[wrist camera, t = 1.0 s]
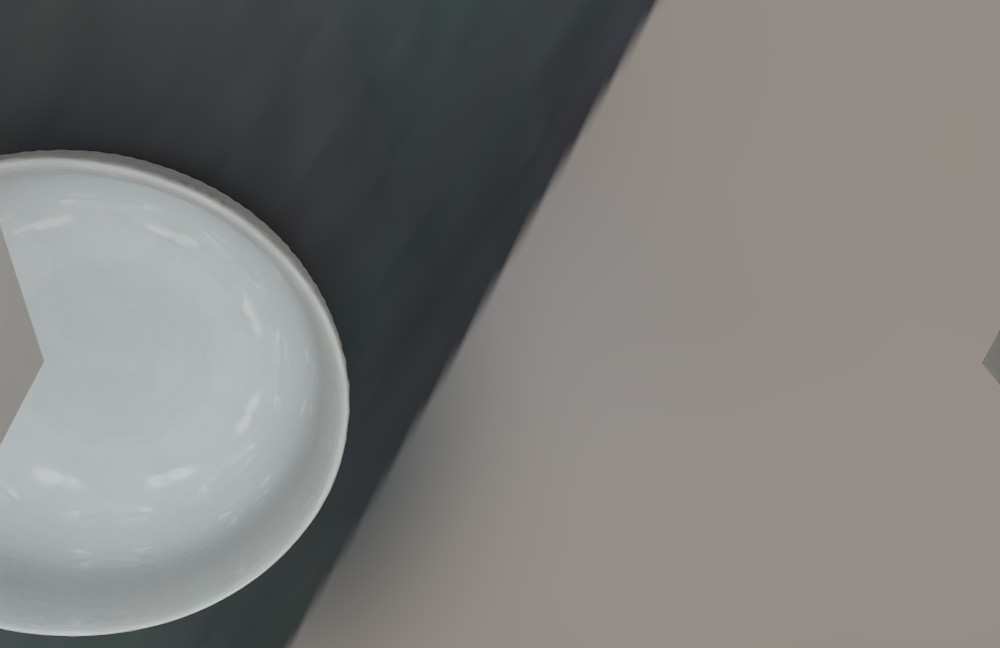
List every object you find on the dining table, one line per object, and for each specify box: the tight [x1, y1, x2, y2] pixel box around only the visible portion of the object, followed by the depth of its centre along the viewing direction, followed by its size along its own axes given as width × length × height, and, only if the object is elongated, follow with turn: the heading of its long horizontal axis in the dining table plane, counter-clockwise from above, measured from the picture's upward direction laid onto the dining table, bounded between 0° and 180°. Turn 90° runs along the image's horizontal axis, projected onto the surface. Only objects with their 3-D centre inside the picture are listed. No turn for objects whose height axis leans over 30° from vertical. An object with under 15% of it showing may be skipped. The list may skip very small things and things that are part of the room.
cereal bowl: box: [0, 150, 350, 636], centre depth 30 cm, size 17×17×7 cm
